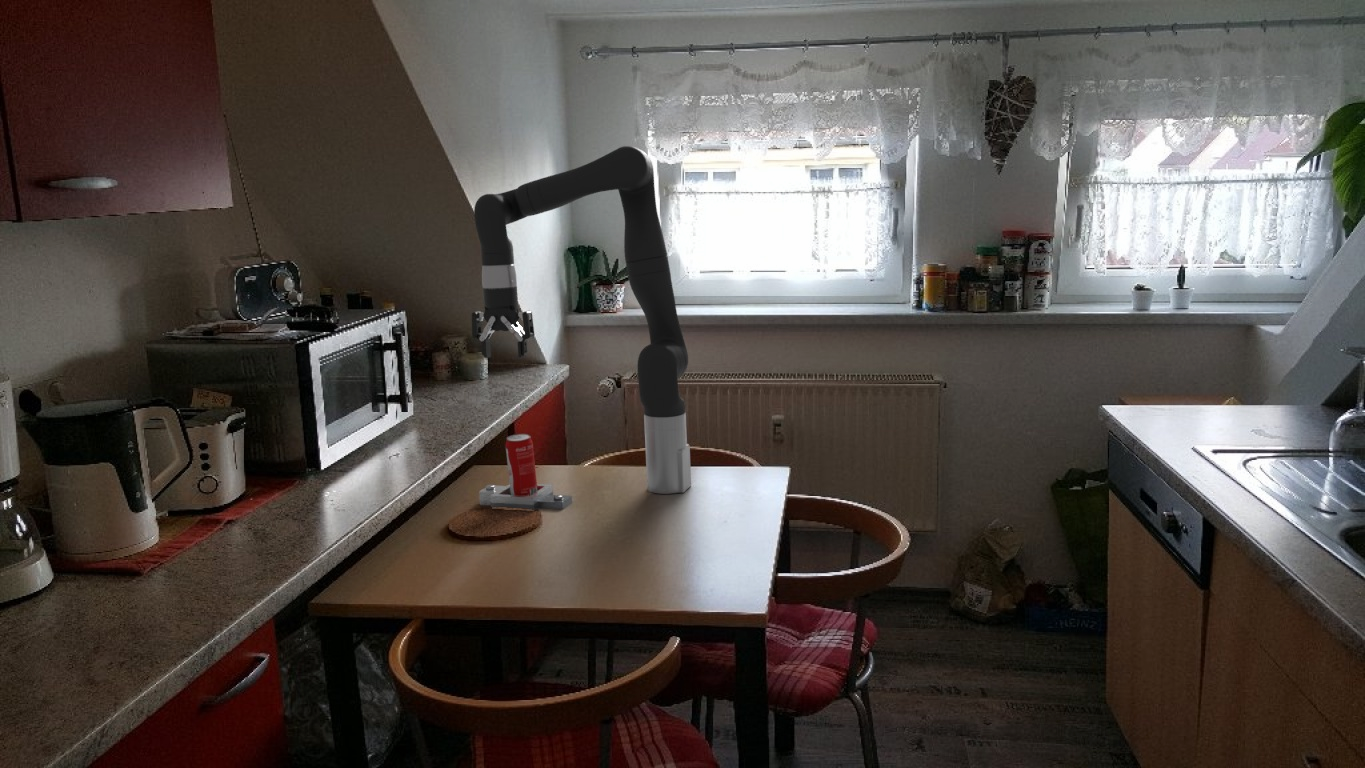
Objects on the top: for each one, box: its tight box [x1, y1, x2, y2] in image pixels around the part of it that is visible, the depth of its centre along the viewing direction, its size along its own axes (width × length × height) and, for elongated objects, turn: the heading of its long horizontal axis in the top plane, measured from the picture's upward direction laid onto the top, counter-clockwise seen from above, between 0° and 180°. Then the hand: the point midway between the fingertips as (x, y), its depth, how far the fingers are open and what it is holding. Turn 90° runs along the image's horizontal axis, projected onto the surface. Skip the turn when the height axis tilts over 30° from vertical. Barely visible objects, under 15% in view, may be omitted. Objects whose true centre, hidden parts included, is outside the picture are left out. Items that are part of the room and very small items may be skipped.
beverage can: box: [505, 433, 538, 496], centre depth 210 cm, size 6×6×15 cm
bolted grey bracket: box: [478, 483, 573, 511], centre depth 211 cm, size 20×10×4 cm, turn 73°
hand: (504, 357), depth 220 cm, fingers open, 8 cm apart
